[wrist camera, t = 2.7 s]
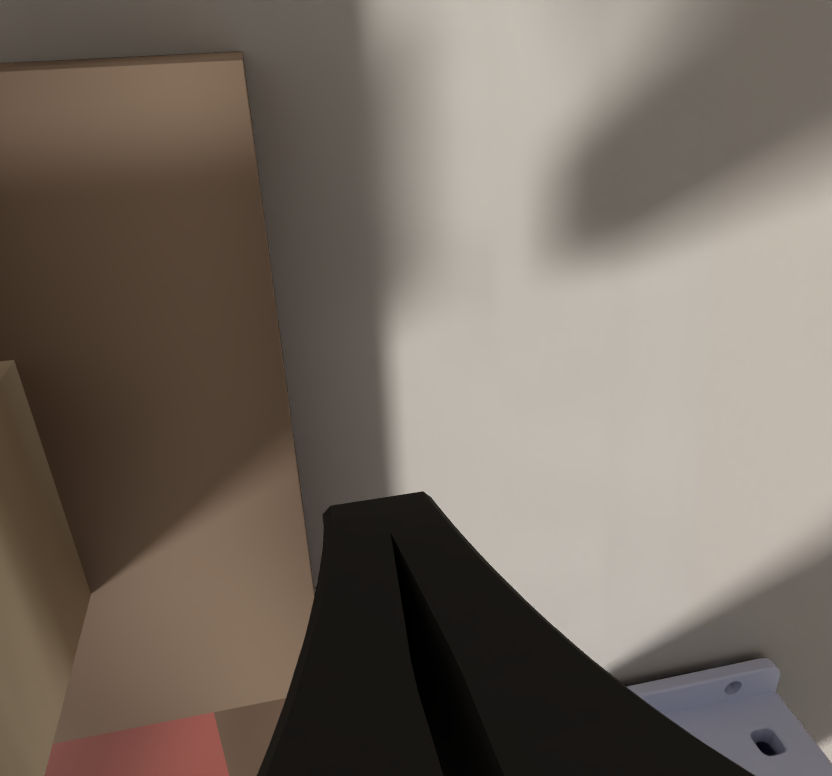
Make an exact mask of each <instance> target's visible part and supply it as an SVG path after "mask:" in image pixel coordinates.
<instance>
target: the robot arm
mask: <svg viewBox="0 0 832 776" xmlns="http://www.w3.org/2000/svg"><path fill="white" fill-rule="evenodd" d="M323 523H324V536H323V550H322V558H321V565H320V571H319V577H318V583H317V587H316V592H315V596H314V600H313V605H312V609H311V613H310V618H309V622H308V626H307V630H306V634H305V638H304V641H303V645H302V648H301V651H300V655H299V658H298V661H297V664H296V667H295V671H294V674H293V677H292V680H291V684H290V687H289V690H288V693H287V696H286V699H285V702H284V705H283V708H282V711H281V714H280V717H279V719H278V722H277V725H276V728H275V730H274V733H273V736H272V738H271V741H270V744H269V746H268V749H267V751H266V754H265V756H264V759H263V761H262V764H261V766H260V769H259V771H258V774H257V776H832V763H831V762H830V760H829V759H828V758H827V756H826V755H825V754H824V753H823V751H822V750H821V749H820V747H819V746H818V745H817V744H816V742H815V741H814V740H813V738H812V737H811V736H810V735H809V733H808V732H807V731H806V729H805V728H804V727H803V726H802V724H801V723H800V722H799V720H798V719H797V718H796V717H795V715H794V714H793V713H792V711H791V710H790V709H789V708H788V706H787V705H786V704H785V702H784V701H783V700H782V699H781V697H780V696H779V695H778V693H777V692H776V689H777V685H778V682H779V679H780V670H779V669H778V668H777V666H776V665H775V664H774V663H773V661H772V660H770V659H767V658H760V659H755V660H750V661H745V662H741V663H736V664H731V665H726V666H722V667H717V668H712V669H707V670H702V671H698V672H693V673H688V674H683V675H679V676H674V677H669V678H664V679H660V680H655V681H650V682H645V683H641V684H636V685H631V686H625V685H623V684H622V683H621V682H619V681H618V680H617V679H616V678H614V677H613V676H612V675H611V674H609V673H608V672H607V671H606V670H604V669H603V668H602V667H601V666H599V665H598V664H597V663H596V662H594V661H593V660H592V659H591V658H590V657H589V656H587V655H586V654H585V653H584V652H583V651H581V650H580V649H579V648H578V647H577V646H575V645H574V644H573V643H572V642H571V641H570V640H569V639H568V638H566V637H565V636H564V635H563V634H562V633H561V632H560V631H558V630H557V629H556V628H555V627H554V626H553V625H552V624H551V623H549V622H548V621H547V620H546V619H545V618H544V617H543V616H542V615H541V614H540V613H539V612H537V611H536V610H535V609H534V608H533V607H532V606H531V605H530V604H529V603H528V602H527V601H526V600H525V599H524V598H523V597H522V596H521V595H520V594H519V593H518V592H517V591H516V590H515V589H514V588H513V587H512V586H511V585H510V584H509V583H508V582H507V581H506V580H505V579H504V578H503V577H502V576H501V575H500V574H499V573H498V572H497V571H496V570H495V569H494V568H493V567H492V566H491V565H490V564H489V563H488V562H487V561H486V560H485V559H484V558H483V557H482V556H481V555H480V554H479V553H478V552H477V550H476V549H475V548H474V547H473V546H472V545H471V544H470V543H469V542H468V541H467V539H466V538H465V537H464V536H463V535H462V534H461V533H460V532H459V530H458V529H457V528H456V527H455V526H454V525H453V524H452V522H451V521H450V520H449V519H448V518H447V516H446V515H445V514H444V513H443V512H442V510H441V509H440V508H439V507H438V505H437V504H436V503H435V502H434V500H433V499H432V498H431V497H430V496H428V495H427V494H426V493H424V492H417V493H410V494H404V495H397V496H391V497H384V498H378V499H372V500H365V501H359V502H352V503H346V504H339V505H333V506H330V507H329V508H328V509H327V510H326V511H325V512H324V513H323Z"/></svg>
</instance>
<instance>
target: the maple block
mask: <svg viewBox="0 0 832 776" xmlns="http://www.w3.org/2000/svg"><path fill="white" fill-rule="evenodd" d="M90 597H91V592H90V589H89V586H88V583H87V580H86V577H85V574H84V571H83V568H82V565H81V562H80V559H79V556H78V553H77V550H76V547H75V544H74V541H73V538H72V534H71V531H70V528H69V525H68V522H67V519H66V516H65V513H64V510H63V507H62V504H61V501H60V498H59V495H58V492H57V489H56V486H55V483H54V480H53V477H52V474H51V471H50V468H49V464H48V461H47V458H46V455H45V452H44V449H43V446H42V443H41V440H40V437H39V434H38V431H37V428H36V425H35V422H34V419H33V416H32V413H31V410H30V407H29V404H28V401H27V398H26V394H25V391H24V388H23V385H22V382H21V379H20V376H19V373H18V370H17V367H16V364H15V361H14V360H9V361H0V776H44V775H45V771H46V767H47V764H48V760H49V756H50V752H51V748H52V744H53V740H54V736H55V732H56V729H57V725H58V721H59V717H60V713H61V709H62V705H63V701H64V698H65V694H66V690H67V686H68V682H69V678H70V674H71V670H72V666H73V663H74V659H75V655H76V651H77V647H78V643H79V639H80V635H81V632H82V628H83V624H84V620H85V616H86V612H87V608H88V604H89V600H90Z"/></svg>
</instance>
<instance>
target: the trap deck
mask: <svg viewBox="0 0 832 776" xmlns="http://www.w3.org/2000/svg"><path fill="white" fill-rule="evenodd" d="M9 360H14V361H15V364H16V367H17V370H18V373H19V376H20V379H21V382H22V385H23V388H24V391H25V394H26V398H27V401H28V404H29V407H30V410H31V413H32V416H33V419H34V422H35V425H36V428H37V431H38V434H39V437H40V440H41V443H42V446H43V449H44V452H45V455H46V458H47V461H48V464H49V468H50V471H51V474H52V477H53V480H54V483H55V486H56V489H57V492H58V495H59V498H60V501H61V504H62V507H63V510H64V513H65V516H66V519H67V522H68V525H69V528H70V531H71V534H72V538H73V541H74V544H75V547H76V550H77V553H78V556H79V559H80V562H81V565H82V568H83V571H84V574H85V577H86V580H87V583H88V586H89V589H90V592H91V597H90V600H89V604H88V608H87V612H86V616H85V620H84V624H83V628H82V632H81V635H80V639H79V643H78V647H77V651H76V655H75V659H74V663H73V666H72V670H71V674H70V678H69V682H68V686H67V690H66V694H65V698H64V701H63V705H62V709H61V713H60V717H59V721H58V725H57V729H56V732H55V736H54V740H53V744H52V748H51V752H50V756H49V760H48V764H47V767H46V771H45V775H44V776H257V774H258V771H259V769H260V766H261V764H262V761H263V759H264V756H265V754H266V751H267V749H268V746H269V744H270V741H271V738H272V736H273V733H274V730H275V728H276V725H277V722H278V719H279V717H280V714H281V711H282V708H283V705H284V702H285V699H286V696H287V693H288V690H289V687H290V684H291V680H292V677H293V674H294V671H295V667H296V664H297V661H298V658H299V655H300V651H301V648H302V645H303V641H304V638H305V634H306V630H307V626H308V622H309V618H310V613H311V609H312V605H313V600H314V596H315V594H314V587H313V579H312V572H311V564H310V557H309V549H308V542H307V534H306V526H305V519H304V511H303V504H302V496H301V489H300V481H299V474H298V466H297V459H296V451H295V444H294V436H293V429H292V421H291V414H290V406H289V399H288V391H287V384H286V376H285V369H284V361H283V354H282V346H281V338H280V331H279V323H278V316H277V308H276V301H275V293H274V286H273V278H272V271H271V263H270V256H269V248H268V241H267V233H266V226H265V218H264V211H263V203H262V196H261V188H260V181H259V173H258V166H257V158H256V150H255V143H254V135H253V128H252V120H251V113H250V105H249V98H248V90H247V83H246V75H245V68H244V60H243V53H242V52H222V53H201V54H180V55H159V56H138V57H117V58H96V59H75V60H54V61H33V62H12V63H0V361H9Z"/></svg>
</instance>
